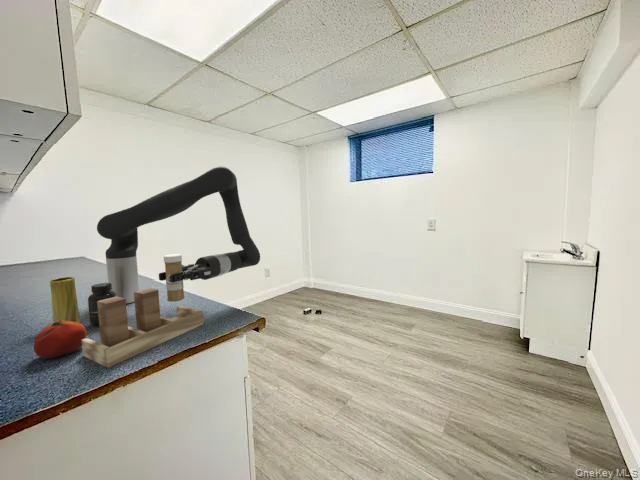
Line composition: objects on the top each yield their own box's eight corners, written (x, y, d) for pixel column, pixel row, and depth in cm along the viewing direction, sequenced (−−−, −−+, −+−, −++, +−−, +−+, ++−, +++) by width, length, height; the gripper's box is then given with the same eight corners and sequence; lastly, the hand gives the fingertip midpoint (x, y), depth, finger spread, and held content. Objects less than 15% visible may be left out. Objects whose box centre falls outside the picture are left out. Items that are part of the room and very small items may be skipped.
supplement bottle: (91, 329, 76) (87, 289, 75) (88, 322, 81) (84, 284, 80) (120, 322, 81) (117, 284, 80) (116, 316, 86) (112, 280, 85)
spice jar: (165, 303, 75) (161, 256, 73) (169, 298, 79) (165, 254, 77) (183, 301, 76) (179, 255, 74) (186, 296, 80) (182, 253, 79)
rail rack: (83, 355, 62) (77, 302, 61) (180, 317, 84) (177, 278, 83) (108, 367, 57) (102, 310, 56) (204, 323, 79) (201, 282, 78)
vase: (47, 330, 76) (41, 282, 74) (62, 322, 82) (57, 277, 80) (72, 328, 77) (67, 280, 76) (85, 320, 83) (81, 275, 81)
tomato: (82, 340, 70) (79, 311, 69) (93, 350, 64) (90, 319, 64) (31, 356, 62) (27, 323, 61) (39, 369, 57) (34, 334, 56)
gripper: (198, 253, 92) (148, 263, 77) (228, 256, 86) (180, 267, 70) (199, 274, 93) (150, 288, 78) (229, 278, 87) (182, 294, 71)
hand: (165, 278), depth 74 cm, fingers closed on spice jar, 4 cm apart
